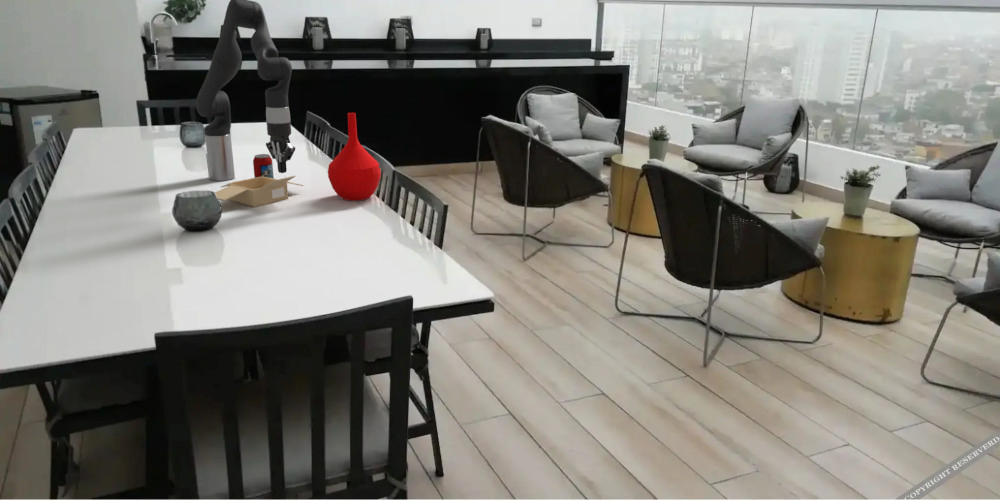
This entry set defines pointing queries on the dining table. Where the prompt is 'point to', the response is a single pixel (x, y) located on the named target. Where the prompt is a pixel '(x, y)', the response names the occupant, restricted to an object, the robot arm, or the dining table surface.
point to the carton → (259, 191)
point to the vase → (354, 168)
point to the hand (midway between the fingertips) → (282, 172)
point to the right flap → (229, 192)
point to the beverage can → (263, 166)
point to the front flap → (277, 182)
